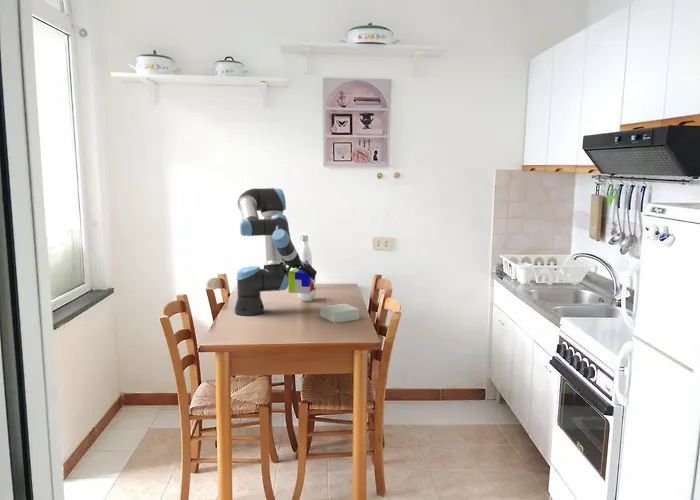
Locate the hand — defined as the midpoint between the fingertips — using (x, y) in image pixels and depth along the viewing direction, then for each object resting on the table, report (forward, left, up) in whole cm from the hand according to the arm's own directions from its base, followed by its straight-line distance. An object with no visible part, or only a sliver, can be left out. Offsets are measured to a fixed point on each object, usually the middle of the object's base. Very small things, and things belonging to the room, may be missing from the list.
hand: (303, 281), depth 274 cm
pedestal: (+12, +14, -18) cm, 25 cm away
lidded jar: (-30, +16, -18) cm, 38 cm away
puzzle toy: (+2, -2, -4) cm, 5 cm away
